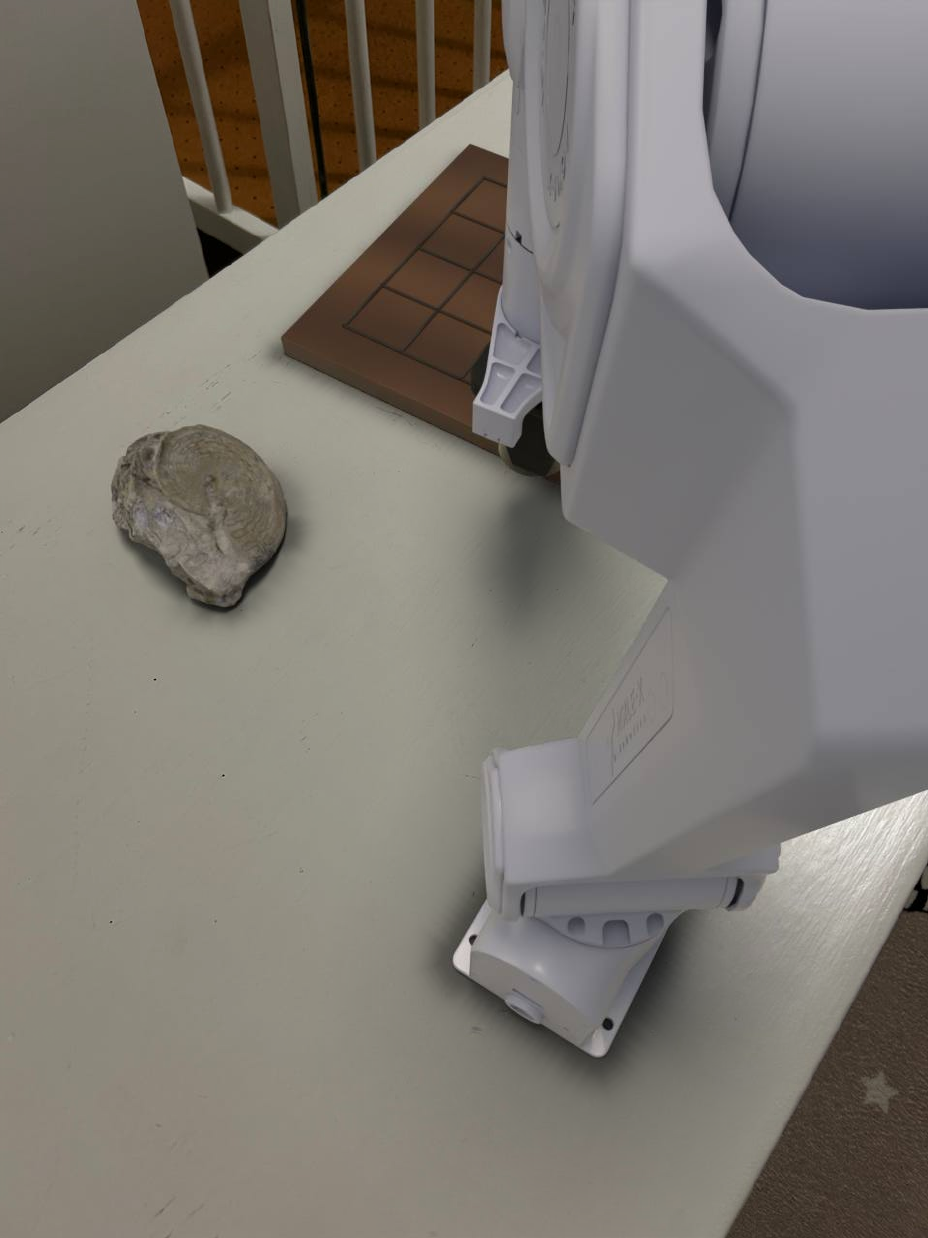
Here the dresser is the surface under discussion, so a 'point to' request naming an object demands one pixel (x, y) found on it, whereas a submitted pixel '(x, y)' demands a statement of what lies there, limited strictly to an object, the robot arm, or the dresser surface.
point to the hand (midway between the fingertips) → (548, 436)
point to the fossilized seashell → (201, 508)
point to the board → (420, 300)
